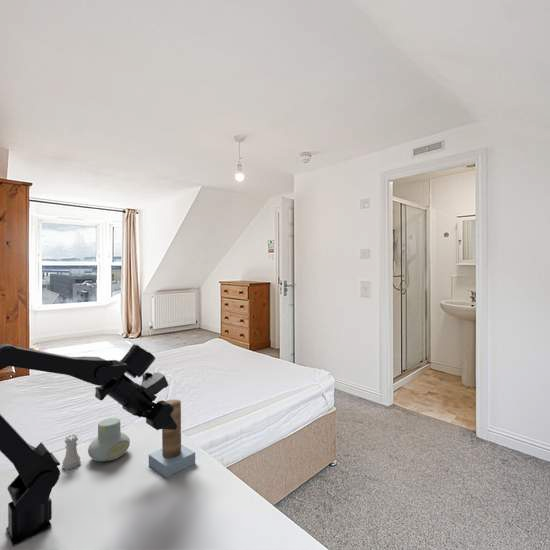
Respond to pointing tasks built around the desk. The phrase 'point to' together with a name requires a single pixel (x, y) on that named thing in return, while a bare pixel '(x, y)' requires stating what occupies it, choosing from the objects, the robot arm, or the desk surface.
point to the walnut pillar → (172, 433)
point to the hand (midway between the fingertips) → (167, 422)
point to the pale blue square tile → (171, 461)
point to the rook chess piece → (71, 453)
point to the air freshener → (109, 441)
